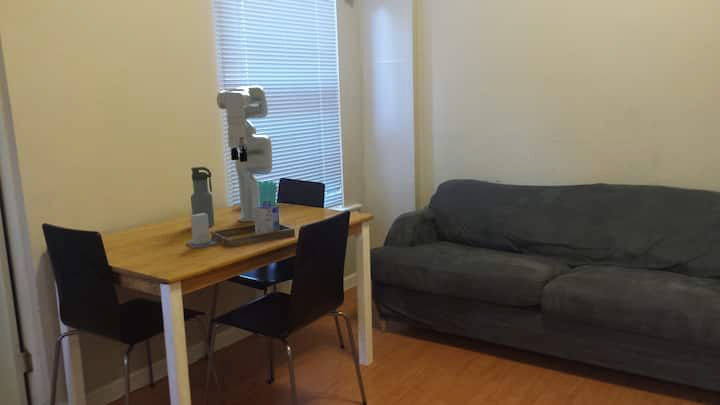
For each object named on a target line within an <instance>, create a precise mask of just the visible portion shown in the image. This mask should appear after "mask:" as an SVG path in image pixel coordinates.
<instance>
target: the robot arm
mask: <svg viewBox="0 0 720 405" xmlns="http://www.w3.org/2000/svg"><path fill="white" fill-rule="evenodd" d="M266 97H267V96H266V92H265V90H264V88H263V87H262V86H260V85H251V86H249V85H248V86H247V85H246V86H244V85H243V86H239V87H237V88H232V89H227V90H221V91H219V92H218V93H217V95H216V104H217V106H218V108H219V109H221V110H225V111H226V120H227V141H228V147H230V149H229V150H230V156H231V161H235V162H234V164H235V166H234V167H235V171H236V174H237V180H238V190H239V203H240V216H238V221H239V222H245V223H246V222H248V223H249V222H255V218H254V208H255V207H259V206H260V195H259V184H258V181H259V180H257V178H256V177H254V175H268V174H270V173H271V172H272V170H273V153H272V152H273V150H272V149H273V148H272V146H273V145H272V140H271V138H270V137H269V136H267V135H261V134H260V135H257V128H256V127H255V125H254V124H253V123H252V122H251V121H249V119H263V118H266V117H267V116H268V113H269V109H268V102H267V98H266Z"/></svg>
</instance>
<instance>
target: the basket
mask: <svg viewBox="0 0 720 405" xmlns="http://www.w3.org/2000/svg"><path fill="white" fill-rule="evenodd" d="M257 181H258V184H259V195H260V206H263V204H264V201H271V205H270V206H273V207H277V206H276V205H277V190H278V186H277V182H276V181H275V182H274V181H273V180H272V181H271V180H270V182H269V180H265V181H261V180H257ZM265 204H267V205H269V203H265Z"/></svg>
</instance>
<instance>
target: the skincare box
mask: <svg viewBox="0 0 720 405" xmlns="http://www.w3.org/2000/svg"><path fill="white" fill-rule="evenodd" d="M189 218H190V226H191V236H192V238H191V239H192V242H193V243H194V244H197V245H199V244H203V243H207V242H210V239H211V237H210V236H211V232H210V227H209V223H208V214H205V213H200V214H195V215H192V214H190V216H189Z"/></svg>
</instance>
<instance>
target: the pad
mask: <svg viewBox="0 0 720 405" xmlns="http://www.w3.org/2000/svg"><path fill="white" fill-rule="evenodd" d="M185 245H186V246H187V247H189V248H191V249H192V250H198V249H199V250H200V249H204V248H210V247H215V246H218V242H217V241H215V240H213V239H212V238H210V242H207V243H203V244H199V245H197V244H194V243H193V241H188V242H185Z"/></svg>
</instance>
